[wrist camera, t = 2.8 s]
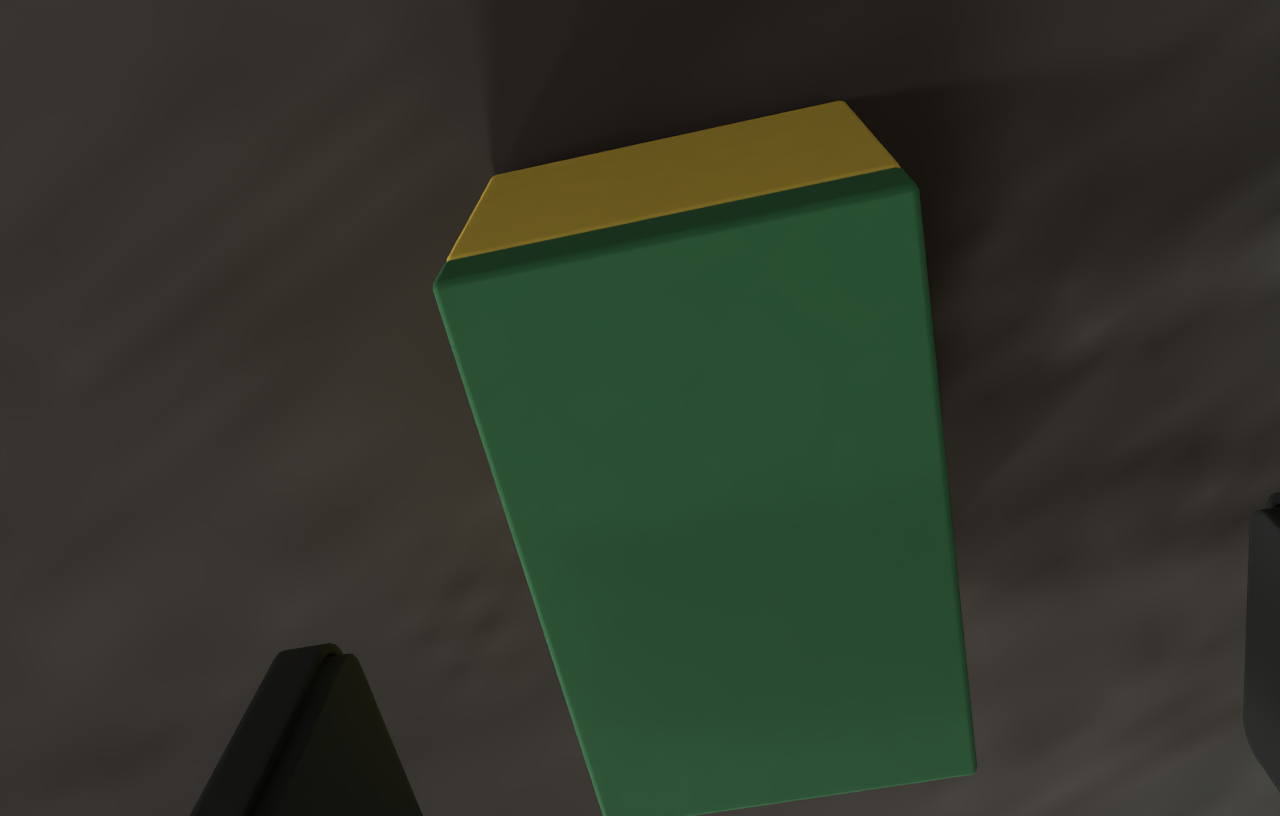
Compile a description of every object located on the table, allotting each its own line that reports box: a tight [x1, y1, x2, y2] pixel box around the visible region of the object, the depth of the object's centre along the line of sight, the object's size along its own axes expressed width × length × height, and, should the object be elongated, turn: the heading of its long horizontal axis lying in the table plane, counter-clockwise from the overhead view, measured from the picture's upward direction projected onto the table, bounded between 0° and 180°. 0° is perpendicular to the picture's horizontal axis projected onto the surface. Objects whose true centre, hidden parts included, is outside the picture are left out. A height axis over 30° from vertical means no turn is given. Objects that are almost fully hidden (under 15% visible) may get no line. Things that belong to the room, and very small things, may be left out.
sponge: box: [433, 101, 977, 816], centre depth 14 cm, size 8×5×4 cm, turn 12°
